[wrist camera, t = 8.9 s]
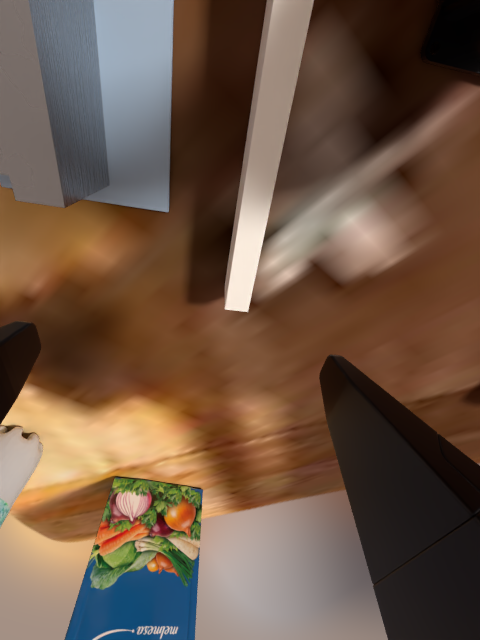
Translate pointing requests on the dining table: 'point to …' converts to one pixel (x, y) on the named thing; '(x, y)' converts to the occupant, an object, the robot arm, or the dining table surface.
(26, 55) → the bracket
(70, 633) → the blue food package
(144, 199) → the mat
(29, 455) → the bottle
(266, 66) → the l-shaped block
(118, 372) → the dining table surface
